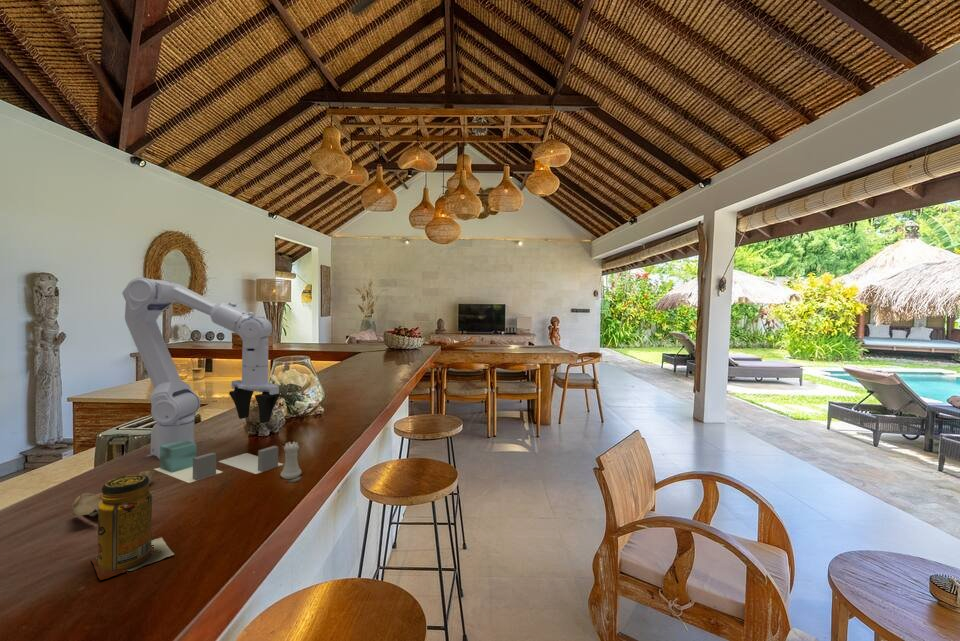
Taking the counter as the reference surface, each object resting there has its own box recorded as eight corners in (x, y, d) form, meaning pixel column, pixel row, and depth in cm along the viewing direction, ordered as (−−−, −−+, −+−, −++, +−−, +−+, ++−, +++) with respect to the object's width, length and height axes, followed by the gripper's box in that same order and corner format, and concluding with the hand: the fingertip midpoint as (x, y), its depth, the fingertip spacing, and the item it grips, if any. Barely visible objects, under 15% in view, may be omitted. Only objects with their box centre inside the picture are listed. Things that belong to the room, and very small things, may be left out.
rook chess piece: (293, 484, 89) (294, 447, 89) (275, 482, 90) (275, 445, 90) (306, 476, 93) (306, 441, 93) (288, 474, 94) (289, 439, 94)
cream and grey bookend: (217, 464, 98) (218, 442, 98) (246, 456, 105) (246, 435, 104) (255, 477, 92) (256, 453, 92) (283, 467, 98) (284, 445, 98)
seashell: (53, 535, 68) (53, 503, 68) (108, 491, 84) (108, 465, 84) (115, 527, 70) (115, 497, 70) (156, 487, 86) (156, 462, 86)
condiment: (90, 561, 61) (91, 480, 61) (161, 538, 68) (162, 465, 67) (99, 583, 56) (100, 495, 56) (174, 556, 63) (175, 477, 63)
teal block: (159, 468, 93) (160, 445, 93) (184, 461, 98) (184, 440, 98) (171, 472, 91) (172, 450, 91) (196, 465, 95) (196, 443, 95)
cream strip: (153, 472, 93) (153, 448, 93) (187, 462, 99) (187, 440, 99) (188, 486, 86) (189, 461, 86) (222, 475, 92) (223, 451, 92)
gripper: (220, 364, 103) (219, 419, 103) (261, 370, 97) (260, 428, 97) (246, 362, 109) (245, 413, 110) (286, 366, 103) (285, 421, 104)
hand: (254, 420), depth 104 cm, fingers open, 7 cm apart
